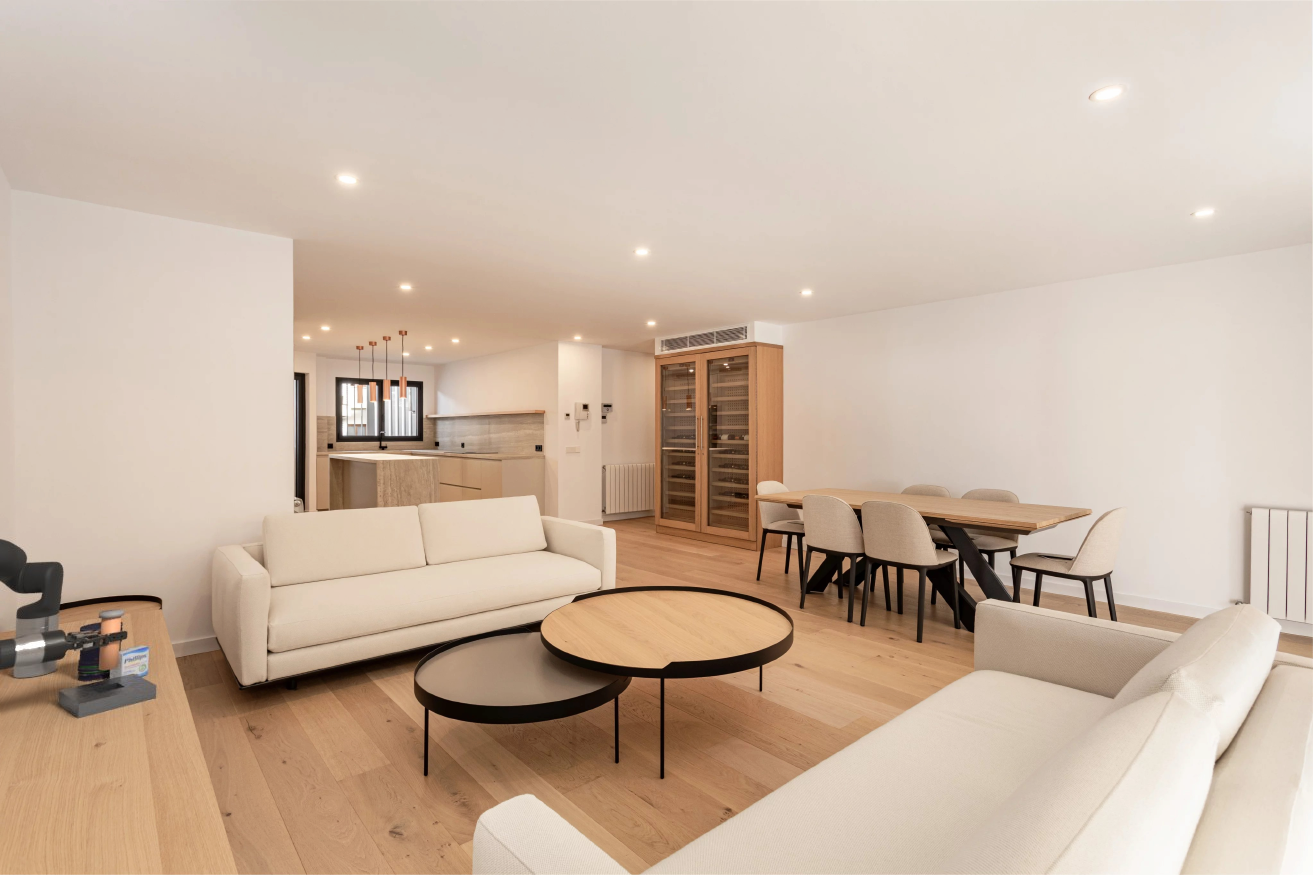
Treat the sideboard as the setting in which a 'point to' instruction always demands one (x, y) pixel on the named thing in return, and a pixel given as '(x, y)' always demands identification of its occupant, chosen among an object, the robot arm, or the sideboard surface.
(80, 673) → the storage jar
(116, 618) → the pin
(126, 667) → the medicine box
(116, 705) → the socket block
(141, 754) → the sideboard surface
